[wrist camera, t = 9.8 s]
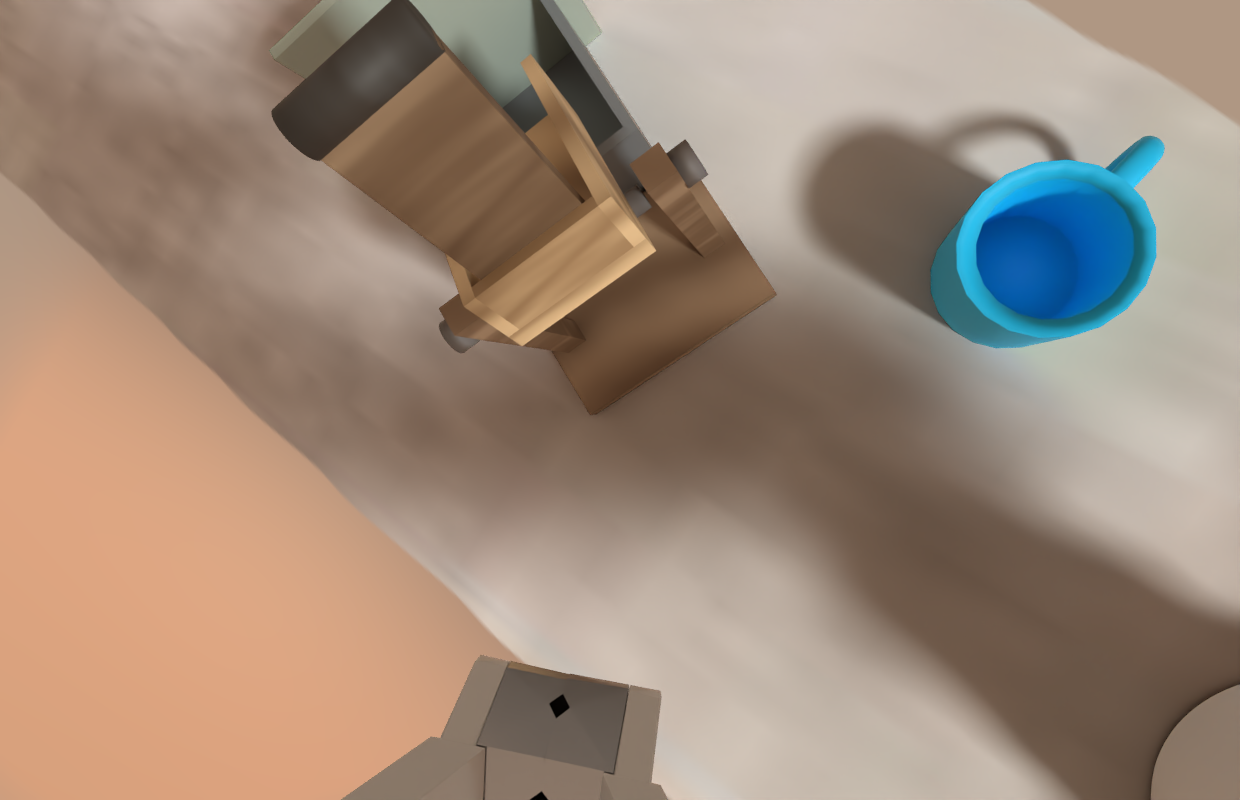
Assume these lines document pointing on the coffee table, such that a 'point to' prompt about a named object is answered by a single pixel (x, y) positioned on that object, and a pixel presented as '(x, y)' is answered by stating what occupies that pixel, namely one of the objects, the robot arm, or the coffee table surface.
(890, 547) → the coffee table surface
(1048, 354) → the coffee table surface
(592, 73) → the bin
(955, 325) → the mug
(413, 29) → the chute
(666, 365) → the stand
